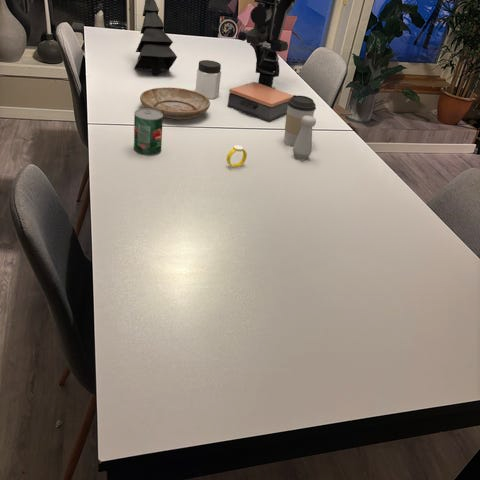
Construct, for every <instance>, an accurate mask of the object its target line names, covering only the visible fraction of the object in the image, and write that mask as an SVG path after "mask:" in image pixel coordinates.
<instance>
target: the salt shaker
mask: <svg viewBox="0 0 480 480" xmlns="http://www.w3.org/2000/svg"><path fill="white" fill-rule="evenodd" d="M316 122H317V120H316V118H315V117H314V116H313V117H312V116H303V117H302V119H301V123H302V127H301V129H300V132H299V134H298V137H297V139H296V142H295V144H294V146H293V147H292V153H293V157H295V159H297V160H299V161H305V160H307V159H308V158H309V157H310V155H311V154H312V151H313V128H314V127H315V126H316V124H317V123H316Z"/></svg>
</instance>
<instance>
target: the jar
mask: <svg viewBox="0 0 480 480" xmlns="http://www.w3.org/2000/svg"><path fill="white" fill-rule="evenodd" d="M221 64H222V63H220V62H217V61H215V60H209V59H202V60H199V62H198V67H197V70H196V79H195V81H196V82H195V90H194V91H195V92H198V93H200V94H202V95H204V96H205V97H207V98H208V99H209V100H215V99H216V98H217V97H219V95H220V85H221V76H222V71H221V69H222V65H221Z"/></svg>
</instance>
